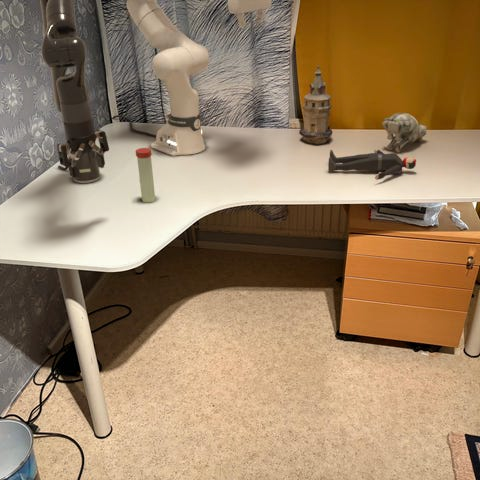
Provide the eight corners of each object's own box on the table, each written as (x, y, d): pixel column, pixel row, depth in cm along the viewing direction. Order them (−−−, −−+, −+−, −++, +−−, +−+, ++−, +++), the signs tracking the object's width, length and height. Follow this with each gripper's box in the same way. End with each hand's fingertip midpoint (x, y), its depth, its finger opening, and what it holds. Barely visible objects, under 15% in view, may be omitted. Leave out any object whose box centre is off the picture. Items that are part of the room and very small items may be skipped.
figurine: (412, 164, 205) (438, 136, 214) (399, 121, 196) (426, 94, 205) (390, 163, 212) (416, 137, 221) (377, 122, 203) (404, 96, 212)
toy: (331, 141, 202) (414, 142, 196) (330, 157, 205) (412, 158, 199) (326, 167, 180) (420, 168, 174) (326, 184, 183) (418, 186, 177)
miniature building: (320, 132, 228) (325, 59, 214) (338, 142, 217) (344, 66, 203) (293, 137, 224) (296, 63, 209) (310, 147, 213) (314, 69, 198)
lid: (136, 158, 163) (136, 153, 162) (135, 153, 167) (134, 148, 166) (152, 157, 164) (152, 152, 163) (150, 151, 168) (150, 147, 167)
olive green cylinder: (142, 203, 170) (137, 154, 162) (141, 197, 174) (135, 150, 166) (156, 201, 171) (151, 153, 163) (154, 196, 175) (149, 148, 167)
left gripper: (91, 106, 147) (101, 160, 156) (45, 121, 138) (58, 177, 147) (108, 112, 143) (117, 167, 152) (61, 128, 134) (74, 185, 143)
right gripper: (260, -24, 177) (260, 21, 184) (223, -20, 162) (224, 29, 169) (276, -23, 174) (275, 22, 180) (240, -19, 159) (241, 30, 166)
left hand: (88, 172), depth 149 cm, fingers open, 8 cm apart
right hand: (250, 25), depth 175 cm, fingers open, 8 cm apart
